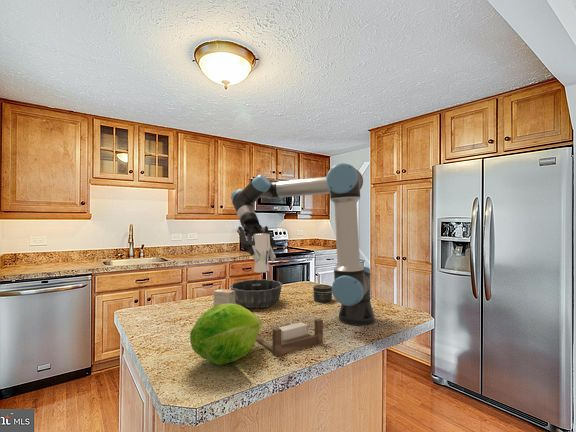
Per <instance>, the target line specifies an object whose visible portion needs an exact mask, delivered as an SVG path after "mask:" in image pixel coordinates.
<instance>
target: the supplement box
mask: <svg viewBox="0 0 576 432" xmlns="http://www.w3.org/2000/svg"><path fill="white" fill-rule="evenodd" d="M230 303H231V304H236V302H235V290H231V289H225V288H218V289H215V290H213V307H214V306H217V305H221V304H230Z"/></svg>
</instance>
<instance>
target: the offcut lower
mask: <svg viewBox="0 0 576 432" xmlns="http://www.w3.org/2000/svg"><path fill="white" fill-rule="evenodd" d="M310 335H311V333H310V332H308V331H307V334H305V335H301V336H297V337H294V338H290V339H286V340H282V339H281V343H283V342H287V341H291V340H295V339H299V338H303V337H307V336H310Z"/></svg>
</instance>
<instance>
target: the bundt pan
mask: <svg viewBox="0 0 576 432" xmlns="http://www.w3.org/2000/svg"><path fill="white" fill-rule="evenodd" d="M282 286H283V283H282V282H280V281H278V280H277V281H276V280H274V279H262V278H261V279H246V280H241V281H237V282H233V283H231V285H229V287H230V290H235V304H238V305H241V306H243V307H244V308H246V309H248V308H249V309H253V308H256V309H259V308H266V307H272V306H273V305H274V304H276V303H277V302H279V299H280V297H281V292H282Z"/></svg>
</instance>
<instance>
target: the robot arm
mask: <svg viewBox="0 0 576 432" xmlns="http://www.w3.org/2000/svg"><path fill="white" fill-rule="evenodd" d="M363 184H364V177H363V175H362V173H361V172H360V171H359V170H358V169H356V167H354V165H351V164H349V163H344V162H343V163H337V164H335V165H333V166H332V167H331V168H330V169H329V170H328V172H327V174H326V176H319V177H312V178H311V177H310V178H302V179H299V178H298V179H291V180H283V181H272V182H270V180H269V179H268V178H267V177H266V176H264V174H258V175H257V176H255V177H254V178H253V179H252V180H251V181H250V182H249V183H248V184H247V185H246V186H245V187H244V188H243V189H242V188H239V189H237V190H234V191H233V192H232V193H231V196H230V198H231V203H232V206H233V207H234V209H235V212H236V215H237V218H238V220H239V222H240V226H238V228H237V230H236V232H237V234H238V235H239V239H240V243H241V247H242V249H246V251H247V252H248V253H249V255H250V256H252V258H253V260H254V264H255V263H257V262H258V260H259V256H258V254H257V251H256V249H255V247H254V246H253V234H257V233H268V234H270V252H269V258H270V260H271V262H275V260H276V258H277V257H276V254H275V252H276V251H275V248H274V247H275V244H276V241H275V239H274V237H273V235H272V234H271V232H270V230H269V226H268V225H265V226H262V225H261V224H260V220H259V219H258V216H257V213H256V211H255V209H254V207H253V204H254V203H255V202H257V200H258V199H260V198H264V199H269V200H275V199H277V198H279V199H280V198H289V197H290V198H292V197H301V196H303V197H305V196H313V195H315V196H316V195H326V194H327V195H328V194H329V198H330V199H329V200H330V201H331V202H332V203H333V204H334V218H335V219H334V221H335V222H334V223H335V239H336V241H335V242H336V259H337V262H336V263H337V264H336V265H335V267H334V268H333V278H334V279H333V281H332V285H331V286H332V297H334V299H335V300H336V301H337V302H338V303H339V304H340V309H339V312H338V320H339V321H340V322H342V323H344V324H347V325H352V326H368V325H372V324H374V323H375V321H376V320H375V313H374V309H373V306H372V303H371V302H372V301H371V275H372V273H371V268H370V267H368V266H362V265H361V263H360V261H361V260H360V259H361V258H360V242H359V221H358V206H357V203H358V201H359V200H360V199H361V189H362V188H363ZM245 233H246V234H247V235H245Z"/></svg>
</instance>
